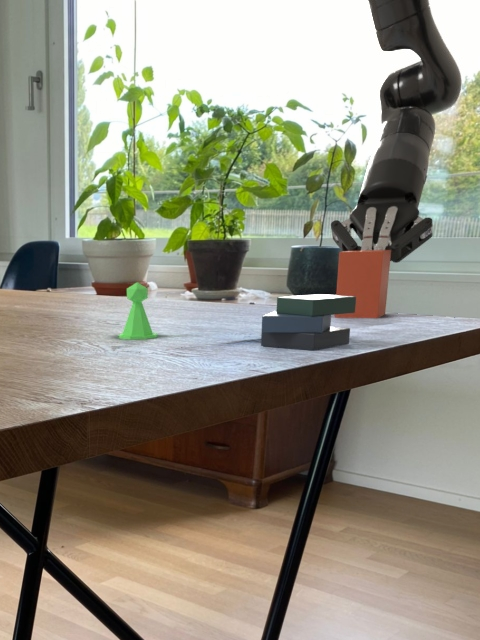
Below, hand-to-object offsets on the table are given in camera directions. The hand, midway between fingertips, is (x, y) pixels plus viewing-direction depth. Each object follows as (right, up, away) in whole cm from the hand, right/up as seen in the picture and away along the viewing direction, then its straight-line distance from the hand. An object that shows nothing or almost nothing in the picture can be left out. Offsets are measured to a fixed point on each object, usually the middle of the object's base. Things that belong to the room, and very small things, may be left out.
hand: (366, 283), depth 103 cm
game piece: (-29, -11, -15) cm, 35 cm away
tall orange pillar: (-1, -5, -1) cm, 5 cm away
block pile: (-14, -13, -22) cm, 29 cm away
